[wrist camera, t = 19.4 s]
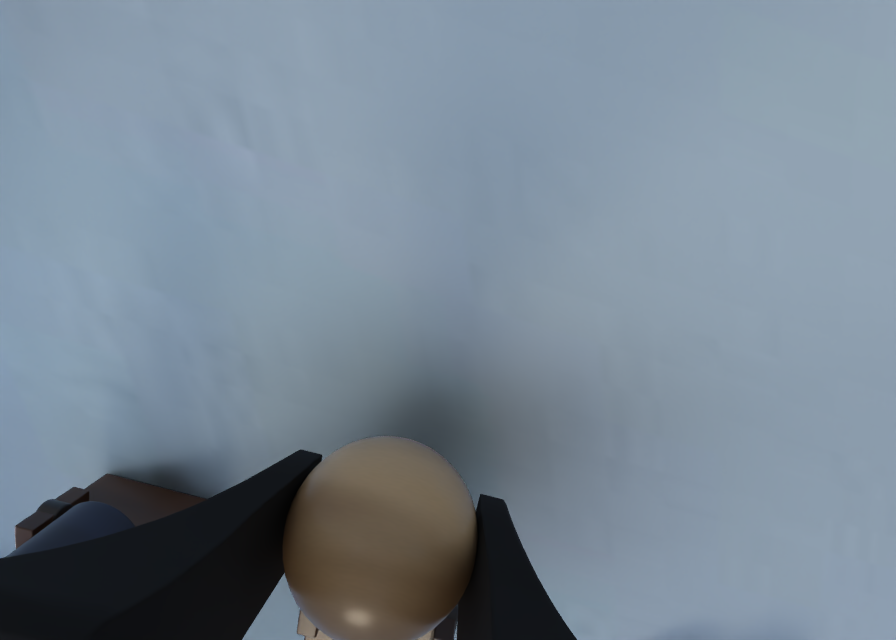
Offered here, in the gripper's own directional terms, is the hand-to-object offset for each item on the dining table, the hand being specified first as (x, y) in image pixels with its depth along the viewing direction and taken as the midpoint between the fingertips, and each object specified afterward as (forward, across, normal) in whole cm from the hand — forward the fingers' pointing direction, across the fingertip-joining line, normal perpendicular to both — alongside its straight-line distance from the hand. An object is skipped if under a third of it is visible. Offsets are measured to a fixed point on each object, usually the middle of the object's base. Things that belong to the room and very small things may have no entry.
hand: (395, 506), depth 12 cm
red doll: (+2, 0, +1) cm, 2 cm away
